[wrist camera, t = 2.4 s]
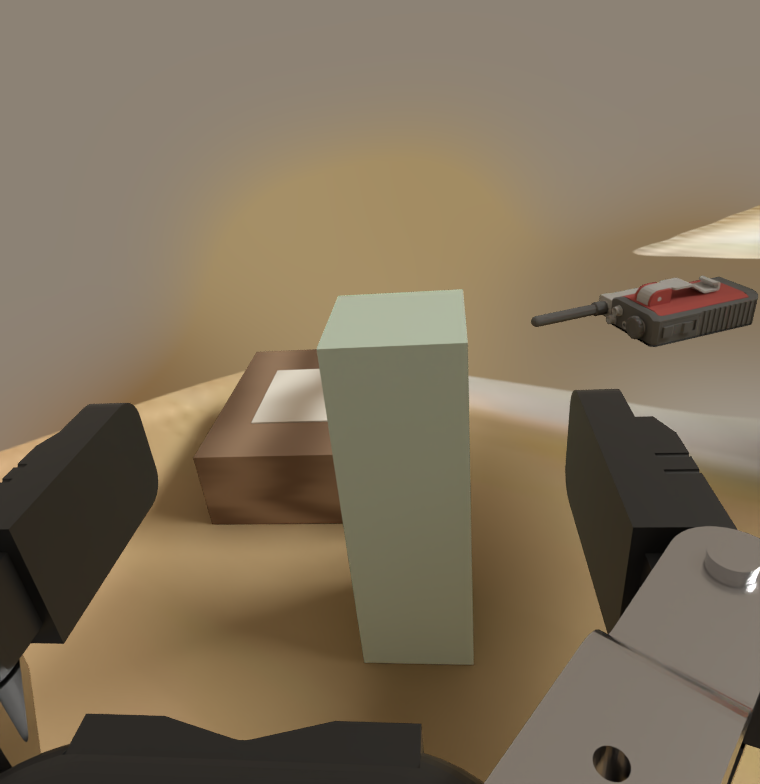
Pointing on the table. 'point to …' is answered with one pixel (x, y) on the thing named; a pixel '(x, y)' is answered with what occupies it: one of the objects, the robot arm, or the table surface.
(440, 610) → the pillar
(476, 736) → the table surface
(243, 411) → the plinth
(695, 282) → the walkie-talkie
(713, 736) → the robot arm
